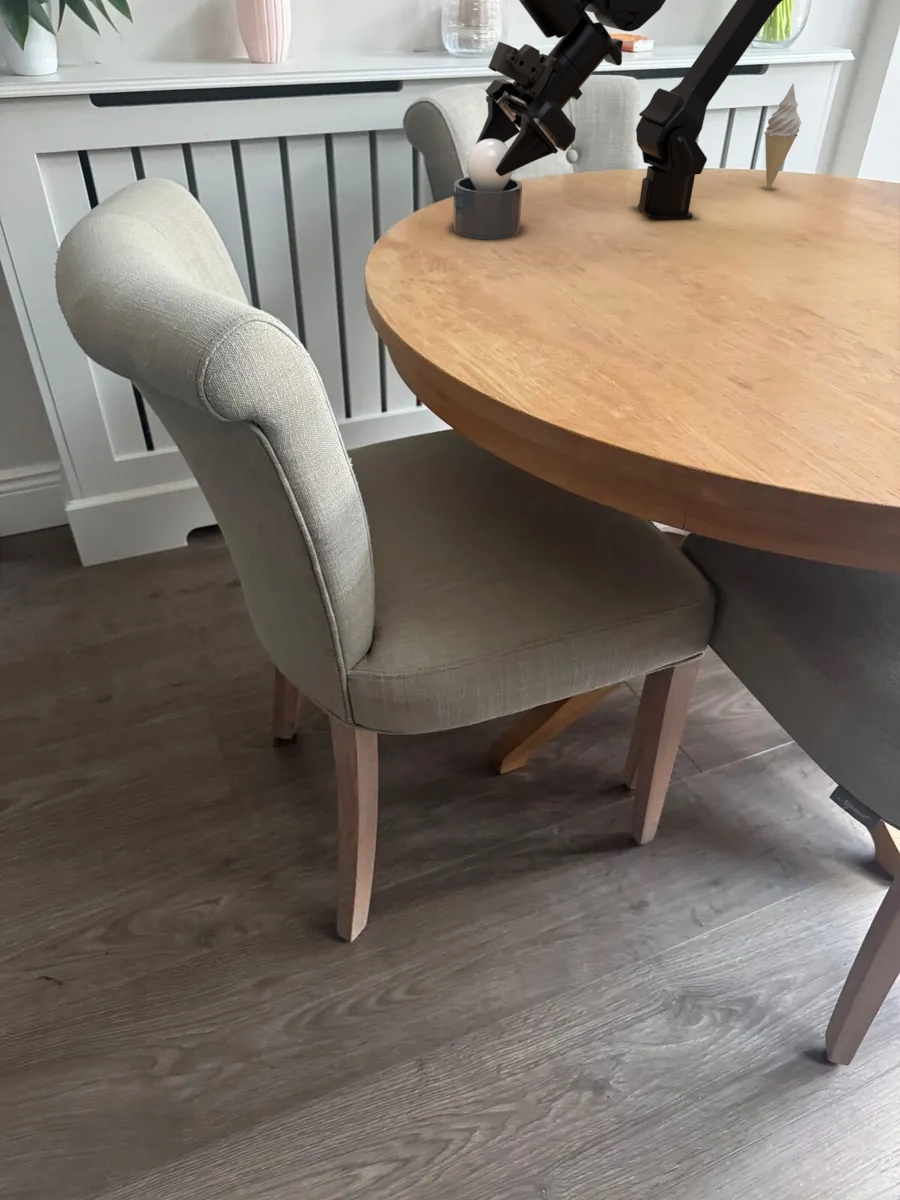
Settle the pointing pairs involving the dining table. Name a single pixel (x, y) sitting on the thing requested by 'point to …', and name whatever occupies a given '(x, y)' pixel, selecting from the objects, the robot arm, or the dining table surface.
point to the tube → (487, 210)
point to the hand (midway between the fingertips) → (485, 165)
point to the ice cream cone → (781, 135)
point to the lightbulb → (487, 165)
